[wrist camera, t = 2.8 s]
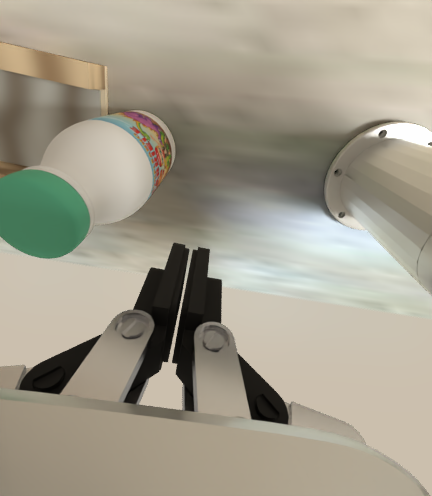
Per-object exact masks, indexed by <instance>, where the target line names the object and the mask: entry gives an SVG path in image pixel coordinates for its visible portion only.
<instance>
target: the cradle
mask: <svg viewBox="0 0 432 496" xmlns="http://www.w3.org/2000/svg"><path fill="white" fill-rule="evenodd" d="M106 115H108V84H107V66H102V65H98V64H94V63H89V62H85V61H81V60H77V59H72V58H68V57H64V56H59V55H55V54H51V53H46V52H42V51H38V50H34V49H29V48H25V47H21V46H16V45H12V44H8V43H4V42H0V178H2V177H4V176H6V175H8V174H11V173H14V172H17V171H20V170H23V169H25V168H27V167H30V166H39V165H40V164H41V161H42V158H43V155H44V153H45V151H46V149H47V147H48V145H49V144H50V143H51V141H52V140H53V139H54V138H55V137H56V136H57V135H58V134H59V133H60V132H62V131H63V130H65V129H66V128H68V127H70V126H72V125H74V124H76V123H79V122H82V121H86V120H89V119H93V118H97V117H101V116H106Z"/></svg>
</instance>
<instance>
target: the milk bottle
mask: <svg viewBox="0 0 432 496" xmlns="http://www.w3.org/2000/svg"><path fill="white" fill-rule="evenodd" d="M174 159H175V143H174V139H173V136H172V134H171V132H170V130H169V129H168V127H167V126H166V125H165V124H164V122H163V121H162V120H160V119H159V118H158V117H156V116H155V115H153V114H151V113H149V112H146V111H141V110H132V111H125V112H120V113H115V114H111V115H106V116H101V117H97V118H93V119H89V120H86V121H82V122H79V123H76V124H74V125H72V126H70V127H68V128H66V129H65V130H63V131H62V132H60V133H59V134H58V135H57V136H56V137H55V138H54V139H53V140H52V141H51V143H50V144H49V145H48V147H47V149H46V151H45V153H44V155H43V158H42V161H41V164H40V165H39V166H30V167H27V168H25V169H23V170H20V171H17V172H14V173H11V174H8V175H6V176H4V177H2V178H0V236H1V237H2V238H3V239H4V240H5V241H6V242H7V243H9V244H10V245H11V246H13V247H14V248H16V249H18V250H20V251H22V252H24V253H26V254H28V255H31V256H35V257H39V258H58V257H61V256H64V255H66V254H68V253H70V252H71V251H73V250H74V249H75V248H76V247H77V246H78V245H79V244H80V243H81V242H82V241H83V240H84V238H85V237H86V236H88V235H89V234H90V232H91V231H92V229H93V227H94V226H95V225H104V224H111V223H115V222H118V221H121V220H123V219H125V218H127V217H129V216H131V215H132V214H134V213H135V212H136V211H137V210H139V209H140V208H141V207H142V206H143V205H144V203H145V202H146V201H147V200H148V199H149V198H150V196H151V195H152V194H153V192H154V191H155V190H156V188H157V187H158V186H159V184H160V183H161V182H162V180H163V179H164V178H165V176H166V175H167V174H168V172H169V171H170V169H171V167H172V165H173V163H174Z"/></svg>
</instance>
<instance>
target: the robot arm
mask: <svg viewBox="0 0 432 496" xmlns="http://www.w3.org/2000/svg"><path fill="white" fill-rule="evenodd" d="M380 131H381V133H380V134H379V132H380ZM378 134H379V135H378ZM335 170H337V172H336V173H334V172H335ZM324 196H325V202H326V204H327V207H328V209H329V211H330V212H331V213H332V215H333V216H334V217H335V218H336V219H337V220H338V221H339V222H341V223H342V224H343V225H345V226H348V227H350V228H353V229H358V230H367V231H368V232H369V233H370V234H371V235H372V236H373V238H374V239H375V240H376V241H377V242H378V243H379V244H380V245H381V246H382V247H383V248H384V249H385V250H386V251H387V252H388V253H389V254H390V255H391V256H392V257H393V258H394V259H395V260H396V261H397V262H398V263H399V264H400V265H401V266H402V267H403V268H404V269H405V270H406V271H407V272H408V273H409V274H410V275H411V276H412V277H413V278H414V279H415V280H416V281H417V282H418V283H419V284H420V285H421V286H422V287H423V288H424V289H425V290H426V291H428V292H429V293H430V294H431V295H432V132H431V131H430V130H428V129H427V128H426V127H423V126H420V125H418V124H415V123H409V122H389V123H384V124H380V125H377V126H375V127H372V128H369V129H368V130H366V131H364V132H362V133H361V134H359V135H357V136H356V137H355V138H354V139H352V140H351V141H350V142H348V143H347V144H346V145H345V147H344V148H343V149H342V150H341V151H340V152H339V153H338V155H337V156H336V157H335V159H334V160H333V162H332V164H331V166H330V168H329V170H328V172H327V176H326V179H325V185H324ZM209 253H210V249H205V248H200V247H198V250H194V249H193V253H192V258H191V263H190V268H189V273H188V278H187V283H186V289H185V294H184V299H183V304H182V309H181V314H180V320H179V326H178V332H177V337H176V343H175V349H174V355H173V360H172V363H176V364H177V369H176V375H177V376H178V377H179V379H180V380H181V381H182V383H183V387H182V398H183V399H182V400H183V401H182V402H183V403H182V406H183V408H182V410H176V409H167V408H160V407H153V406H145V405H139V403H140V401H141V399H142V396H143V393H144V391H145V389H146V387H147V384H148V381H149V378H150V377H152V376H153V375H154V374H156V373H158V372H159V370H161V366H162V362H168V358H169V354H170V349H171V344H172V339H173V335H174V330H175V325H176V320H177V315H178V311H179V306H180V301H181V296H182V290H183V284H184V278H185V272H186V267H187V261H188V255H189V249H188V248H185V245H183V244H178V243H173V246H172V249H171V252H170V255H169V258H168V261H167V264H166V267H165V270H163V269H157V268H150V270H149V273H148V275H147V278H146V280H145V282H144V285H143V287H142V290H141V292H140V294H139V297H138V299H137V302H136V304H135V306H134V309H133V310H127V311H124V312H122V313H120V314H118V315H117V316H116V317H115V318H114V319H113V320H112V321H111V323H110V324H109V326H108V327H107V328H106V330H105V331H104V333H103V334H101V335H99V336H97V337H95V338H92V339H90V340H88V341H86V342H84V343H82V344H79V345H77V346H75V347H73V348H71V349H69V350H67V351H65V352H62V353H60V354H58V355H56V356H54V357H52V358H49V359H47V360H45V361H43V362H41V363H40V364H38V365H36V366H34V367H33V368H26V366H25V365H17V366H3V367H0V496H430V495H429V493H428V492H427V491H426V489H425V488H424V487H423V486H422V485H421V484H420V482H419V481H418V480H417V479H416V478H415V477H414V476H413V475H412V474H411V473H410V472H408V471H407V470H406V469H405V468H403V467H402V466H401V465H400V464H398V463H397V462H395V461H394V460H392V459H391V458H389V457H387V456H386V455H384V454H382V453H381V452H379V451H377V450H376V449H374V448H372V447H370V446H368V445H366V443H365V441H364V439H363V438H362V436H361V435H360V433H359V432H358V431H357V430H356V429H355V428H354V427H353V426H351V425H349V424H348V423H346V422H344V421H341V420H339V419H336V418H333V417H330V416H328V415H326V414H323V413H320V412H318V411H315V410H313V409H310V408H307V407H305V406H302V405H300V404H297V403H295V402H291V404H289V403H286V402H284V401H283V400H282V398H281V397H280V396H279V394H278V393H277V392H276V391H275V390H274V389H273V388H272V387H271V386H270V385H269V384H268V383H267V382H266V381H265V380H264V379H263V378H262V377H261V376H260V375H259V374H258V373H257V372H256V371H255V370H254V369H253V368H252V367H251V366H250V365H249V364H248V363H247V362H246V361H245V360H244V359H243V358H242V357H241V356H240V355H239V354H238V353H237V349H236V345H235V340H234V337H233V334H232V332H231V331H230V330H229V329H228V328H227V327H226V326H224V325H223V324H221V298H222V295H221V293H222V280H221V279H215V278H209V277H207V275H208V264H209Z"/></svg>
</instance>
